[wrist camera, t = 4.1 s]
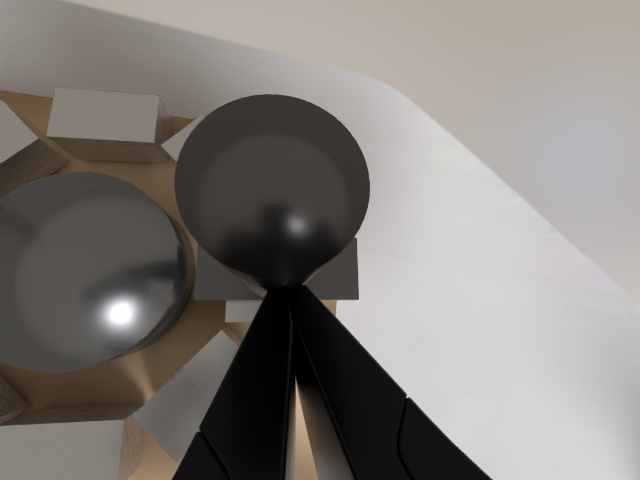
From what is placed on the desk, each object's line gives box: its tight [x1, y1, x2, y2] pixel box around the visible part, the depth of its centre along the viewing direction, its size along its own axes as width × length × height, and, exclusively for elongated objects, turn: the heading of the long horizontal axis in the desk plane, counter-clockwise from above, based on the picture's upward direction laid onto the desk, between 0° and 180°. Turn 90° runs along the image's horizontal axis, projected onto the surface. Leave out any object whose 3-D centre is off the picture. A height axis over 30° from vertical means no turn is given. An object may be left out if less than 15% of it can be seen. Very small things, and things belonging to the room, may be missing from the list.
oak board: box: [0, 91, 337, 480], centre depth 15 cm, size 16×19×1 cm
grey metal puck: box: [0, 172, 196, 373], centre depth 13 cm, size 7×7×3 cm
